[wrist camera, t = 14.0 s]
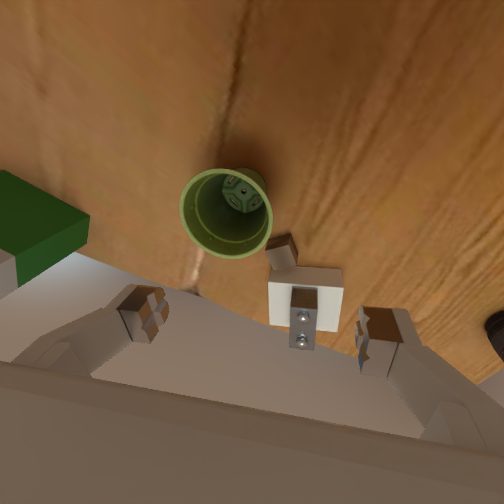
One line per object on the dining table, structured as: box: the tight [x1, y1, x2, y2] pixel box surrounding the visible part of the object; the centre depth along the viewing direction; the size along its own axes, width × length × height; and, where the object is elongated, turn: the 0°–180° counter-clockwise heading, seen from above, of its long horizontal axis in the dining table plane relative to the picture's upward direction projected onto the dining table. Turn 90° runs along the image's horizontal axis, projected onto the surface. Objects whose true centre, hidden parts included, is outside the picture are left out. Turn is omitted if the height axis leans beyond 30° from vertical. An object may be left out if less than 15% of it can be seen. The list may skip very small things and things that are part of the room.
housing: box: [289, 286, 318, 350], centre depth 41 cm, size 9×4×6 cm, turn 4°
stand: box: [268, 266, 344, 332], centre depth 46 cm, size 12×10×5 cm
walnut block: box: [265, 233, 298, 271], centre depth 43 cm, size 4×4×4 cm
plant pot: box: [179, 168, 273, 259], centre depth 36 cm, size 12×12×11 cm
